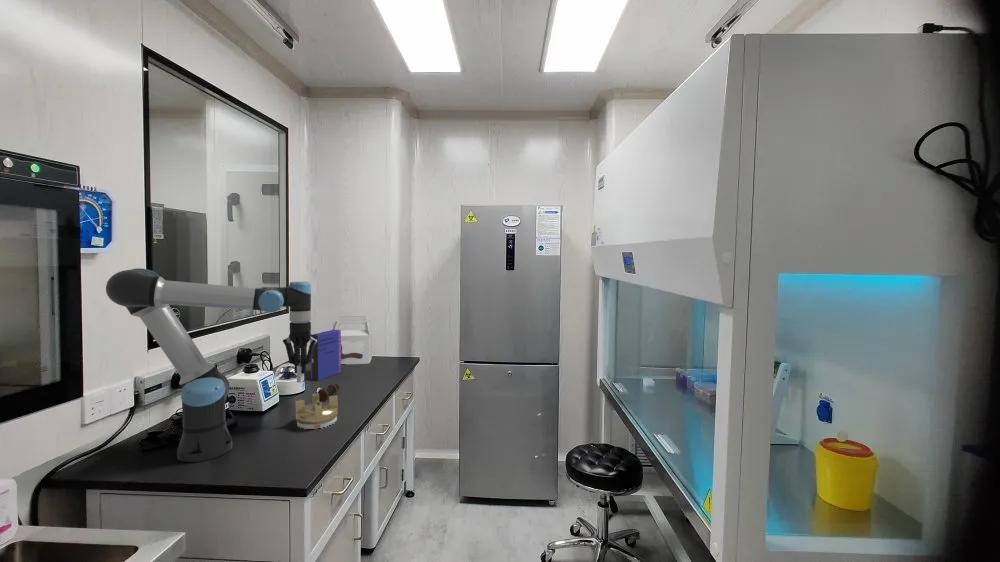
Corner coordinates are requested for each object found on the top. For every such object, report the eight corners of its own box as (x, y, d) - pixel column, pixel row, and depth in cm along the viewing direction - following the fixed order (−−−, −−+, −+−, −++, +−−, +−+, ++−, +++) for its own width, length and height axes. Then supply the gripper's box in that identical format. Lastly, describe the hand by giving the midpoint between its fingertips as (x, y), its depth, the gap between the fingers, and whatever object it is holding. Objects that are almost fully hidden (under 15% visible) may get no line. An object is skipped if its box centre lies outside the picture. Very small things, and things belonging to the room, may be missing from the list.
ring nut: (341, 419, 166) (340, 401, 165) (297, 426, 158) (297, 407, 158) (334, 407, 179) (334, 390, 178) (294, 413, 171) (293, 396, 171)
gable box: (372, 358, 272) (371, 314, 270) (369, 363, 259) (369, 317, 257) (335, 359, 268) (334, 315, 266) (330, 365, 255) (330, 318, 253)
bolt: (337, 394, 208) (323, 404, 193) (329, 389, 208) (313, 398, 193) (343, 384, 207) (329, 393, 192) (335, 379, 207) (320, 387, 192)
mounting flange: (311, 432, 158) (311, 427, 158) (289, 424, 166) (289, 418, 166) (344, 420, 170) (344, 415, 170) (322, 412, 178) (322, 408, 178)
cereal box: (334, 371, 241) (333, 329, 240) (341, 372, 239) (340, 329, 238) (311, 380, 225) (310, 334, 223) (318, 381, 223) (317, 335, 222)
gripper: (321, 320, 170) (321, 379, 171) (288, 319, 170) (288, 378, 171) (312, 323, 162) (312, 384, 163) (278, 322, 163) (278, 383, 164)
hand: (300, 381), depth 167 cm, fingers closed
